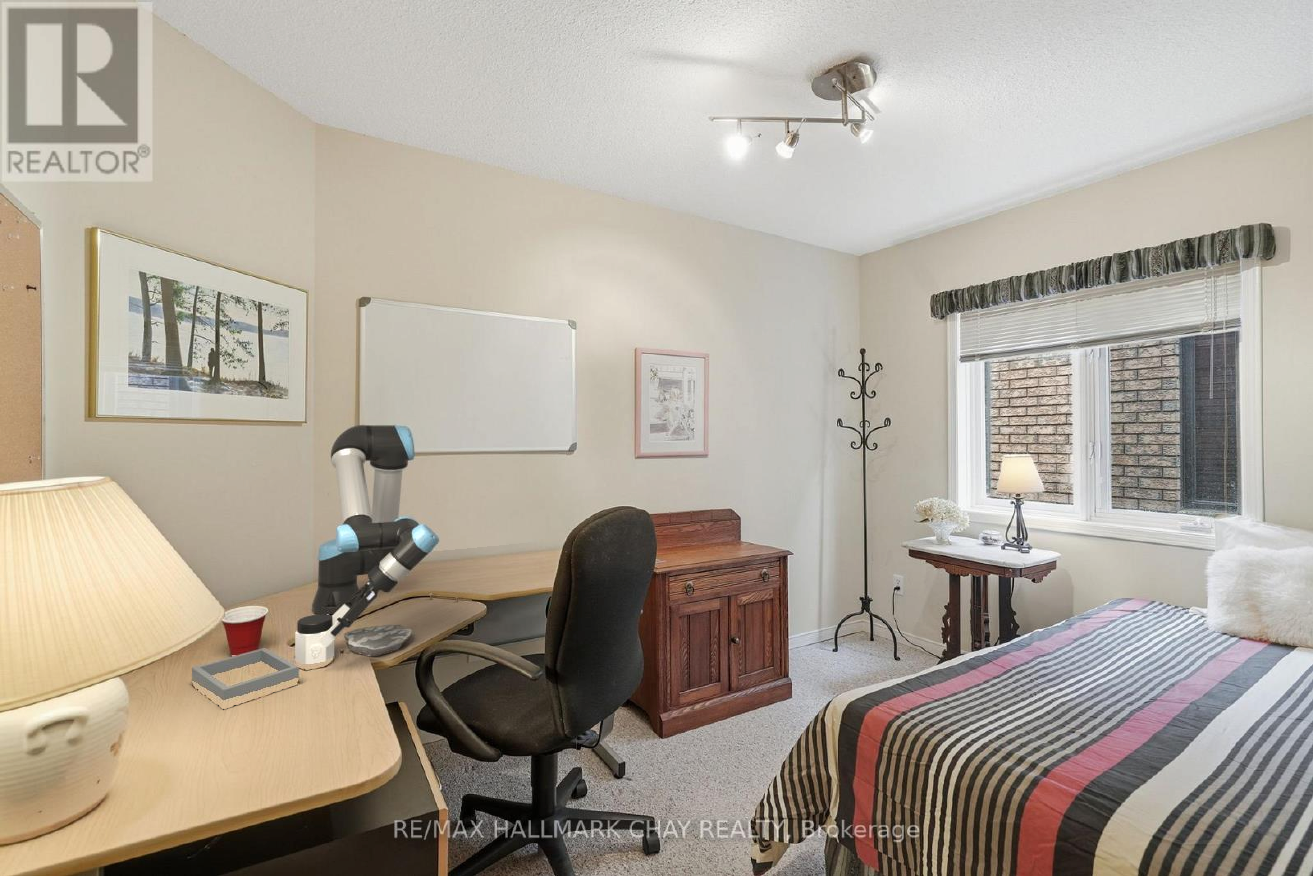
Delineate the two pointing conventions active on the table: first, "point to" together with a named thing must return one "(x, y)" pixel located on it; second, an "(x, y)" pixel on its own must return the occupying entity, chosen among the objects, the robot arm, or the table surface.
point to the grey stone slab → (377, 639)
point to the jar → (313, 639)
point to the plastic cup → (244, 628)
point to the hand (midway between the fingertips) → (325, 634)
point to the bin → (206, 671)
